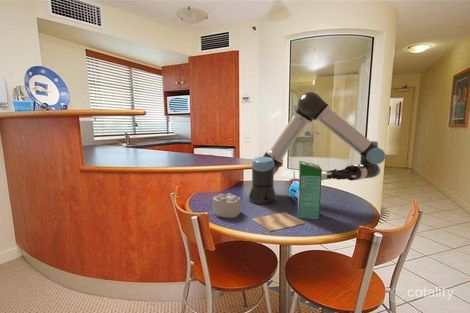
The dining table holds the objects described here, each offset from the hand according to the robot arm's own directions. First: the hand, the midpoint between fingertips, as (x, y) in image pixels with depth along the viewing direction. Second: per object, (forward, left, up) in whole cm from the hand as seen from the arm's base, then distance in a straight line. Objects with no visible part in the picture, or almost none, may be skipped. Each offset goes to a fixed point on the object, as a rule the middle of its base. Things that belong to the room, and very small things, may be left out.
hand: (320, 177), depth 115 cm
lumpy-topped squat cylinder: (-39, -21, -18) cm, 48 cm away
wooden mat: (-14, -19, -17) cm, 29 cm away
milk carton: (-4, -5, -18) cm, 19 cm away
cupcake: (-21, +35, -18) cm, 44 cm away
